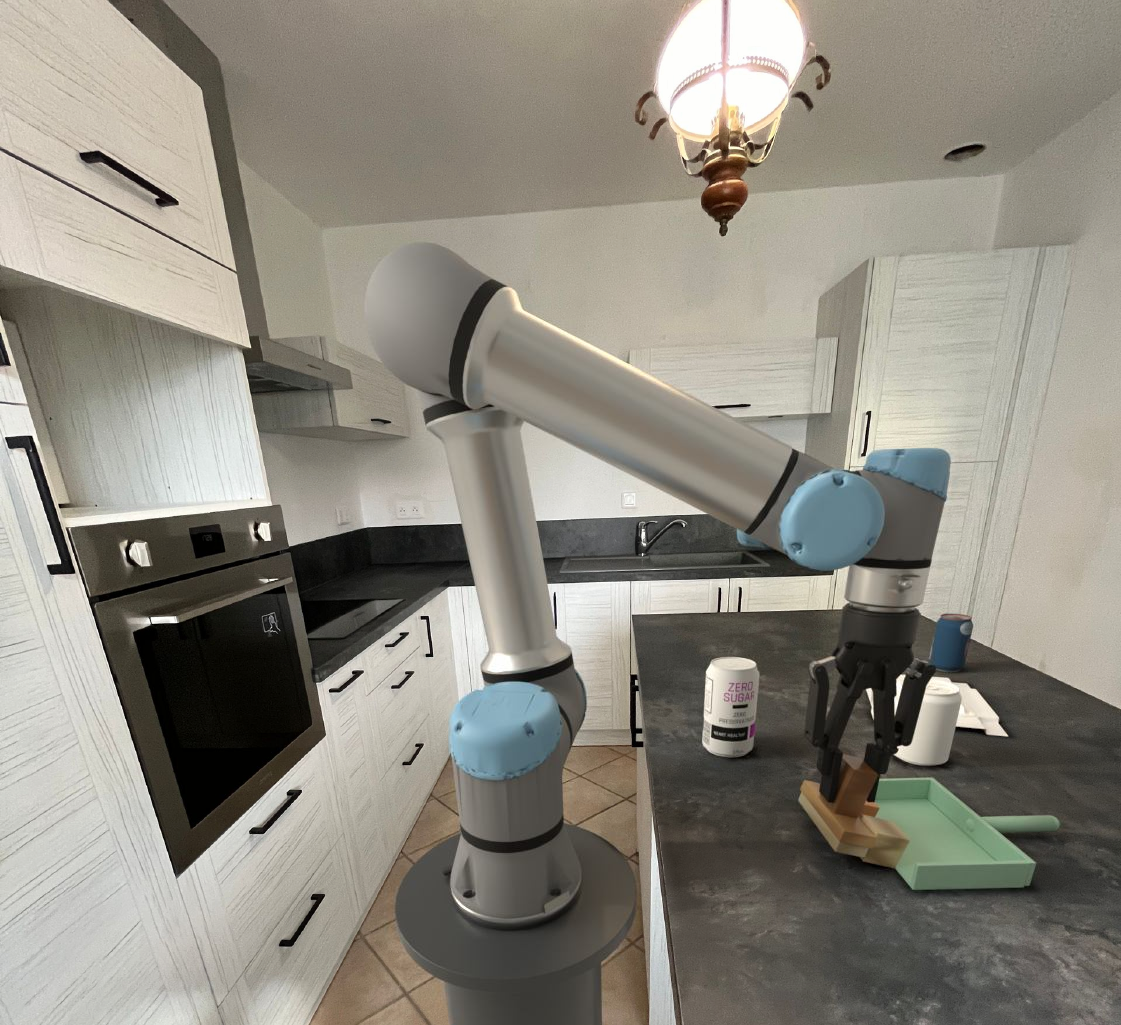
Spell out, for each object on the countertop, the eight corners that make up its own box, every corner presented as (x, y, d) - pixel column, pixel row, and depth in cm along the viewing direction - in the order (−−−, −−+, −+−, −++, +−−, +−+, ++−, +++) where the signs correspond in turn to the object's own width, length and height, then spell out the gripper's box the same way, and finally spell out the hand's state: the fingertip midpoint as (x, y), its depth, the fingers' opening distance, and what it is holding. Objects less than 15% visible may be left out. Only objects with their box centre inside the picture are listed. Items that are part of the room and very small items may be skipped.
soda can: (970, 672, 130) (982, 619, 125) (938, 673, 130) (948, 620, 126) (952, 663, 136) (963, 612, 132) (921, 664, 137) (931, 613, 132)
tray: (966, 683, 124) (970, 666, 122) (1008, 742, 100) (1014, 722, 98) (858, 675, 130) (861, 660, 129) (873, 729, 106) (877, 710, 105)
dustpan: (913, 890, 65) (918, 865, 63) (837, 799, 82) (840, 779, 81) (1122, 885, 64) (1131, 860, 63) (1000, 795, 82) (1006, 775, 81)
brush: (834, 852, 67) (865, 784, 64) (795, 799, 78) (820, 739, 75) (867, 859, 67) (900, 791, 64) (824, 805, 78) (850, 745, 75)
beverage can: (944, 773, 88) (961, 699, 84) (884, 760, 93) (897, 688, 89) (950, 753, 94) (966, 683, 90) (893, 741, 99) (906, 674, 95)
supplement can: (724, 734, 104) (730, 652, 99) (763, 749, 98) (771, 664, 92) (691, 746, 100) (696, 662, 95) (730, 763, 94) (736, 674, 88)
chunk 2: (862, 861, 68) (877, 832, 66) (847, 841, 71) (861, 813, 70) (894, 868, 68) (910, 840, 67) (877, 848, 72) (892, 821, 70)
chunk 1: (836, 827, 74) (850, 800, 73) (824, 810, 78) (836, 785, 76) (866, 834, 74) (880, 808, 73) (852, 817, 78) (864, 792, 77)
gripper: (815, 613, 59) (786, 813, 68) (985, 611, 59) (935, 813, 67) (789, 598, 66) (765, 782, 75) (941, 597, 66) (900, 781, 74)
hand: (846, 796), depth 71 cm, fingers closed on brush, 4 cm apart
